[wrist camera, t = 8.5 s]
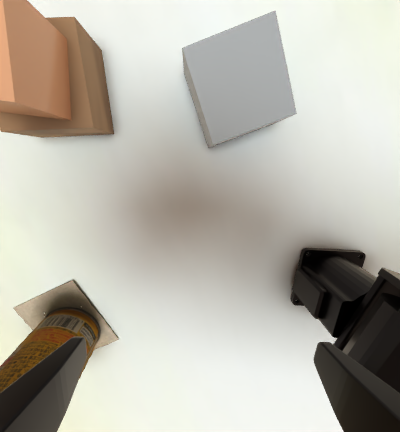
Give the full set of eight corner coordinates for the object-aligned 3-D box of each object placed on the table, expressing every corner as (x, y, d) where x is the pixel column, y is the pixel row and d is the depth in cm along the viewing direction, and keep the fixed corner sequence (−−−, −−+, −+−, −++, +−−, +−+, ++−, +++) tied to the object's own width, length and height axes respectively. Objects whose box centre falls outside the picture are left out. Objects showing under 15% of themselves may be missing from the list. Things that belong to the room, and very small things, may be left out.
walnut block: (102, 51, 16) (74, 16, 12) (115, 134, 17) (93, 127, 14) (23, 54, 16) (-32, 19, 12) (43, 137, 17) (1, 131, 13)
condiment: (64, 362, 23) (-60, 559, 12) (14, 306, 21) (-196, 482, 10) (119, 337, 23) (46, 519, 11) (74, 278, 21) (-74, 429, 9)
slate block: (255, 46, 16) (275, 10, 12) (273, 123, 18) (296, 113, 14) (184, 74, 16) (182, 47, 13) (208, 148, 18) (213, 144, 14)
